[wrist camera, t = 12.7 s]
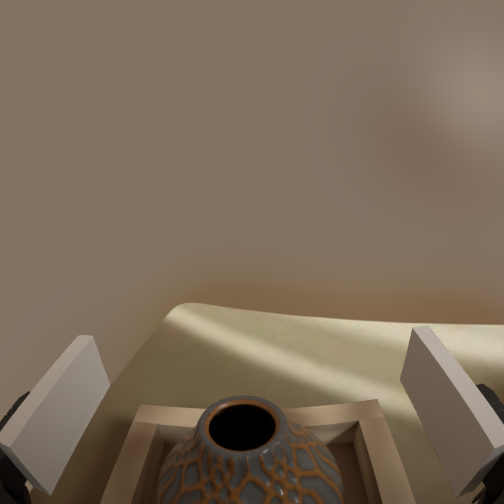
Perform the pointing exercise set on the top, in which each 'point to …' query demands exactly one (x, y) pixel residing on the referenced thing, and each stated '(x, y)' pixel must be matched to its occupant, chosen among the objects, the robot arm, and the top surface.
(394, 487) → the square wooden tray
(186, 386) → the top surface
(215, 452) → the vase
